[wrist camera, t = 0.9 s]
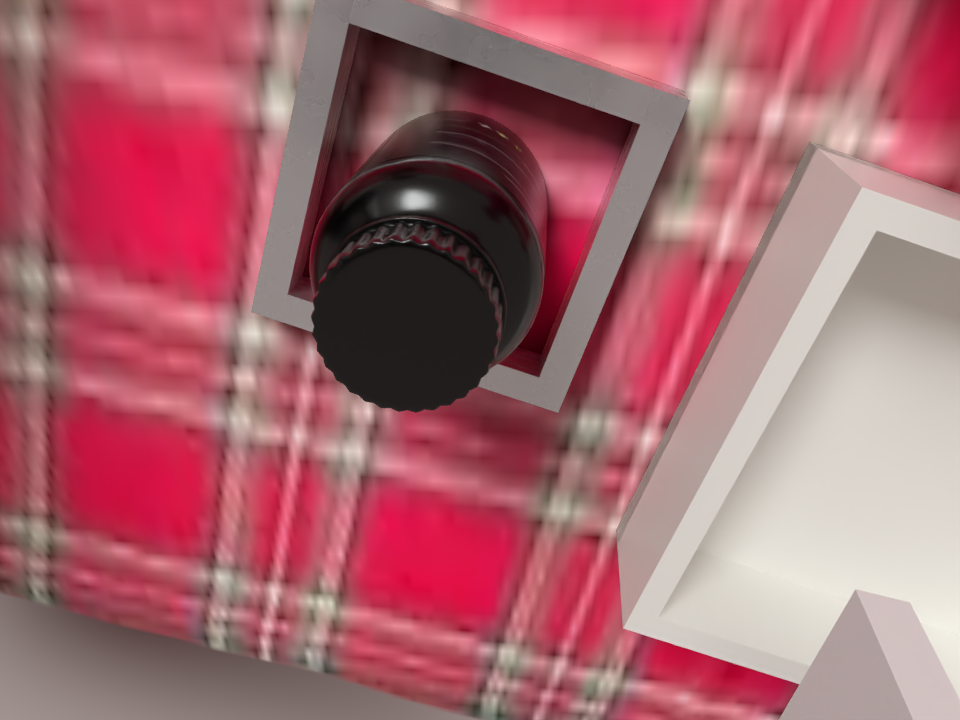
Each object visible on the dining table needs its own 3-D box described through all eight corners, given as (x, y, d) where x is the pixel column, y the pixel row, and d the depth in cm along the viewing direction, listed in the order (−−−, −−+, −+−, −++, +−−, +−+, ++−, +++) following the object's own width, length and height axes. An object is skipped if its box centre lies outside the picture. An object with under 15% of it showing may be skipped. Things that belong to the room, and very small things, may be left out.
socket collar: (268, 292, 34) (251, 312, 32) (337, -31, 28) (321, -29, 27) (559, 388, 35) (557, 412, 33) (683, 90, 29) (689, 100, 27)
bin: (616, 530, 38) (623, 628, 32) (810, 141, 29) (862, 187, 24) (989, 650, 38) (1056, 765, 33) (1278, 305, 30) (1429, 384, 25)
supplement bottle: (489, 316, 34) (448, 493, 23) (337, 225, 33) (221, 366, 22) (587, 171, 31) (594, 296, 20) (425, 66, 30) (340, 139, 19)
